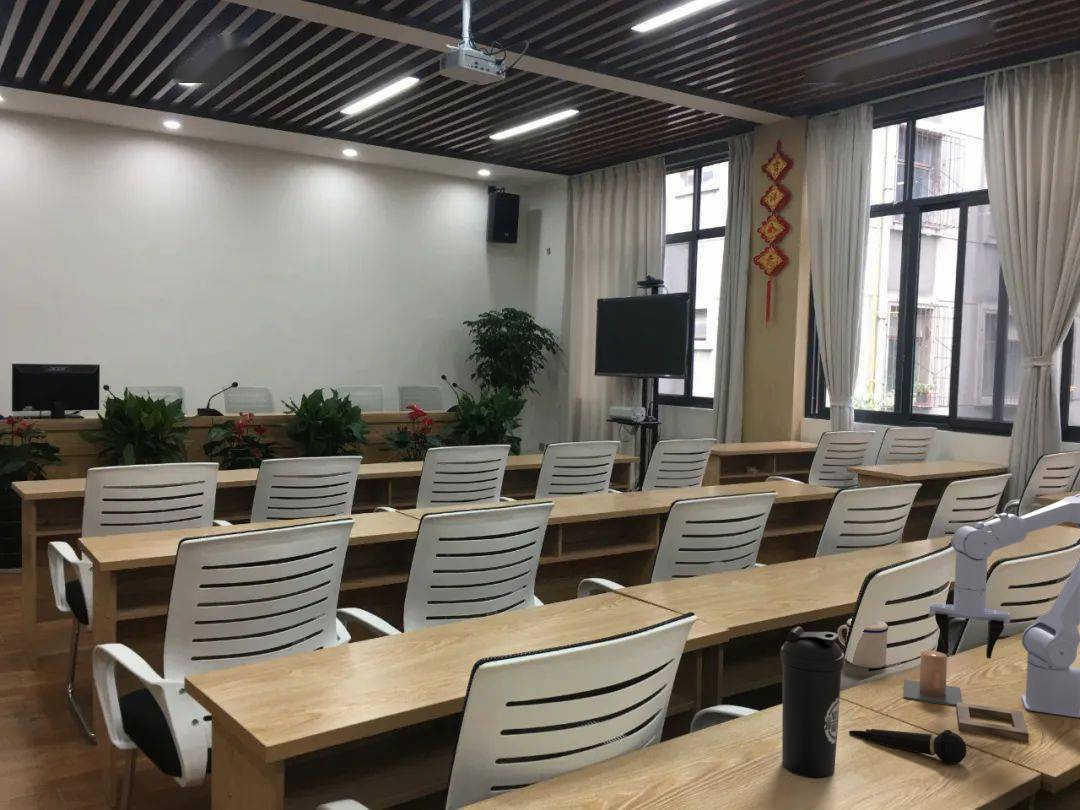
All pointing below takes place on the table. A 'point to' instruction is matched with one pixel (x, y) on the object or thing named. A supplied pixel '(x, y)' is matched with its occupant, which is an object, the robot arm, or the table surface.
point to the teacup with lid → (869, 645)
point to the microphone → (920, 743)
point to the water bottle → (810, 702)
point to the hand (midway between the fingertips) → (967, 654)
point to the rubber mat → (914, 693)
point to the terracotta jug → (933, 673)
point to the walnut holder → (1014, 732)
